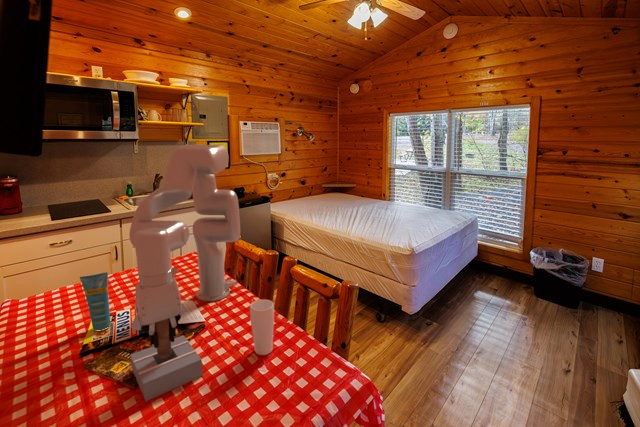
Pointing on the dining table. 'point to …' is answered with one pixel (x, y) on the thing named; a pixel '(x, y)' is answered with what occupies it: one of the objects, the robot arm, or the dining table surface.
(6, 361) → the dining table surface
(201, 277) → the robot arm
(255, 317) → the drinking glass
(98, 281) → the tube
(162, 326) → the walnut peg
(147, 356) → the socket block
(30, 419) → the dining table surface
